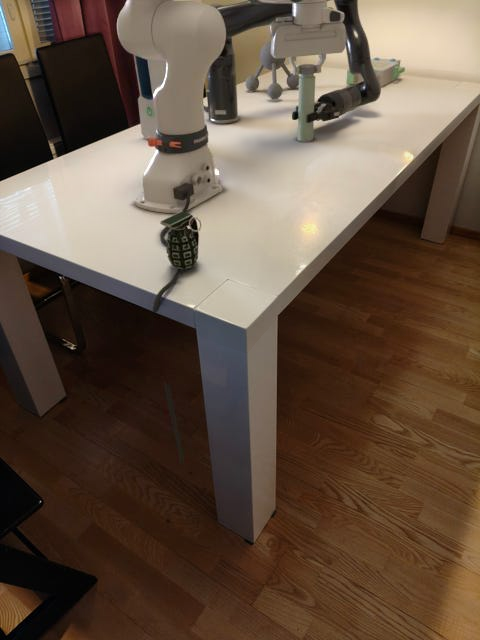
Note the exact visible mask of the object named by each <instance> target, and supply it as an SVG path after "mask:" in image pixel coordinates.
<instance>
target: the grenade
mask: <svg viewBox="0 0 480 640" xmlns="http://www.w3.org/2000/svg"><path fill="white" fill-rule="evenodd" d="M198 222H199V226H198ZM159 224H160V225H162V226H164V227H169V228H170V227H171V228H170V229H169V230H168V231H167V236H166V240H167V245H166V254H167V259H168V261H169V263H170V265H171V266H172V267H174V268H176V269H178V268H180V269H183V270H182V271H186V270H189V269H192V267H194V266H195V265H196V264H197V262H198V261H197V260H198V259H199V243H200V241H199V240H200V233H199V232H200V231H201V228H202V221H201V220H200V219H199V218H198V217H197V216H194V215H193V214H192V213H189V212H187V211H186V212H184V211H181V212H179V213H174V214H172V215H170V216H169V217H166V218H165V219H162V220H160V222H159ZM198 227H199V228H198Z"/></svg>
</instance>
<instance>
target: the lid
mask: <svg viewBox="0 0 480 640" xmlns="http://www.w3.org/2000/svg"><path fill="white" fill-rule="evenodd" d="M316 65H317V64H312V63H304V64H299V65H298V66H297V67H299V68H300V71H299V72H300V74H299V75H301V74H305V75H307V74H314V75H315V74H317V73H316Z"/></svg>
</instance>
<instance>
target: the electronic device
mask: <svg viewBox="0 0 480 640" xmlns="http://www.w3.org/2000/svg"><path fill="white" fill-rule="evenodd" d="M133 60H134V61H133V62H134V65H135V72H136V79H137V86H138V90H139V97H138V98H137V103H138V113H139V123H140V129H141V130H140V131H141V135H142V136H143V138H144V139H146V140H148V139H149V138H150V137H152V138H156V130H157V129H158V128H157V121H156V114H155V108H154V101H153V95H154V92H155V90H156V88H157V87H158V86H159V85H160V84H162V83H163V82H164V80H165V77H166V61H157V60H147V59H143V58H141V57H138V56H136V55H133Z"/></svg>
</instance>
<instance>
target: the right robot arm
mask: <svg viewBox="0 0 480 640" xmlns="http://www.w3.org/2000/svg"><path fill="white" fill-rule="evenodd" d="M329 1H331V0H327V2H329ZM358 1H359V0H333V2H334V5H335V10H338V11H341V12H343V13H344V20H343V21H342V23H343V24H344V25H345V29H346V45H345V51H346V56H347V63H348V70H350V73H351V74H352V75H361V76H362V77H363V80H364V81H362V82H360V83H357V84H351V85H349V86H345V87H343V88H340V89H335V90H332V91H329V92H327V93H323V94H322V95H320V96H319V98H318V99H317V100H316V101H314V112H313V113H310V114H308V115H307V116H306V122H307V123H310V122H313V121H314V122H315V121H317V122H319V121H322V122H327V121H332V120H336V119H339V118H340V117H341V116H343V115H345V114H346V113H348V112H351V111H354V110H356V108H360V107H362V106H365V105H368V104H371V103H375V102H376V101H378V100H379V99H380V98H381V97H380V96H381V93H382V87H381V86H380V83H379V80H378V78H377V76H376V74H375V71H374V68H373V66H372V63H371V60H372V58H371V51H370V45H369V40H368V37H367V34H366V32H365V29H364V27H363V24H362V22H361V18H360V15H359V3H358ZM208 5H209V6H212V7H214V8H216V9H217V10H218V11H219V12H220V14H221V16H222V18H223V20H224V23H225V28H226V41H225V45H224V48H223V50H222V52H221V54H220V55H219V57H218V58H217V59H216V60H215V61H214V62H213V63H212V64H211V66H210V68H209V70H208V72H207V75H206V77H207V85H208V87H207V90H206V99H207V106H205V105H204V111H206V112H208V120H209V121H210V122H211V123H214V124H219V125H225V124H232V123H235V122H237V121H239V113H238V112H239V111H238V88H237V70H236V68H237V67H236V55H235V51H234V45H233V37H235V36H238V35H239V34H242V33H245V32H247V31H250V30H252V29H256V28H260V27H266V26H271V23H272V22H273V21H274V20H276V18H279V17H281V18H284V17H290V16H292V4H287V3H283V4H277V3H267V4H253V3H251V2H250V1H249V0H245V1H241V2H237V3H231V4H221V3H212V4H208ZM274 23H277V22H274ZM291 120H293V121H296V120H298V105H296V106H295V111H292V112H291ZM314 122H313V123H314Z"/></svg>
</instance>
